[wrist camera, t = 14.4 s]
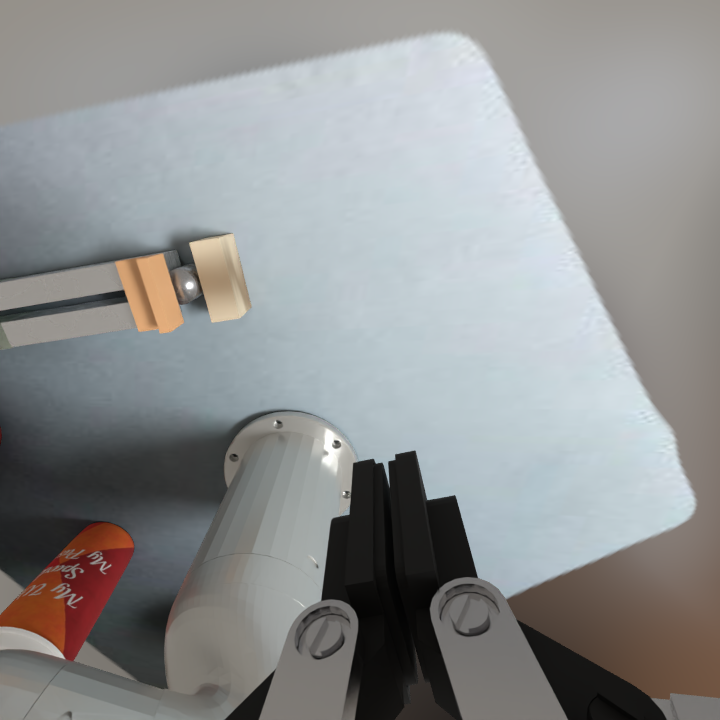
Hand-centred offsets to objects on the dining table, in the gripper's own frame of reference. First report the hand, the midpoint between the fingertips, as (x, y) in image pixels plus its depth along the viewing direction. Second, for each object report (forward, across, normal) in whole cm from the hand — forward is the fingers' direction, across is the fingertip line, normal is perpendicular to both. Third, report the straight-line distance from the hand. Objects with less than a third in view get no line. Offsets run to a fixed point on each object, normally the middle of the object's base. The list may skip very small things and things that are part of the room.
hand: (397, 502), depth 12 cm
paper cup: (+27, +33, +19) cm, 47 cm away
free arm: (+26, +23, -6) cm, 35 cm away
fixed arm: (+27, +24, -4) cm, 36 cm away
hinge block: (+27, +12, -4) cm, 29 cm away
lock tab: (+23, +16, -5) cm, 28 cm away
